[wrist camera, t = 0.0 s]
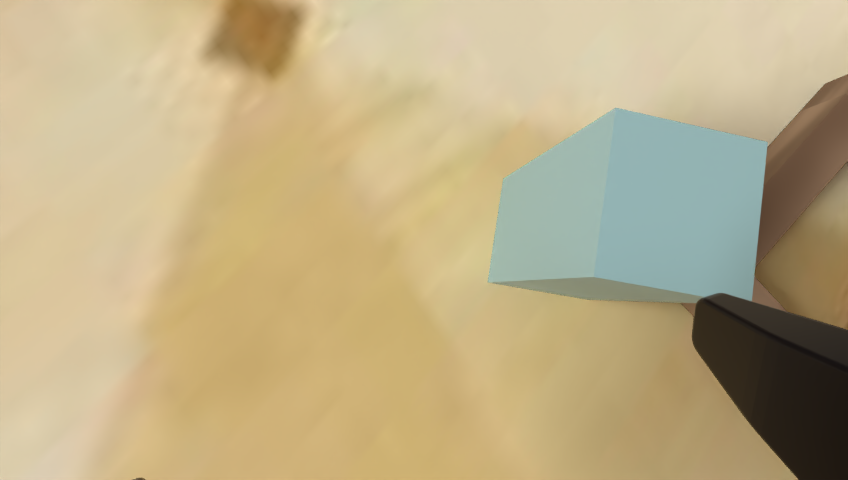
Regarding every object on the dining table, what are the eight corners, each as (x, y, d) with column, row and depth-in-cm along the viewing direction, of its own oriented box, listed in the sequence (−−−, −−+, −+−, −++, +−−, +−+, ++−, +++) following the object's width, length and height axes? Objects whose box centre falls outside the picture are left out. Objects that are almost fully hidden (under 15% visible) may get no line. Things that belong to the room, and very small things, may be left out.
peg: (587, 299, 26) (751, 305, 16) (487, 282, 25) (593, 276, 15) (600, 198, 26) (767, 141, 16) (503, 178, 25) (615, 107, 16)
